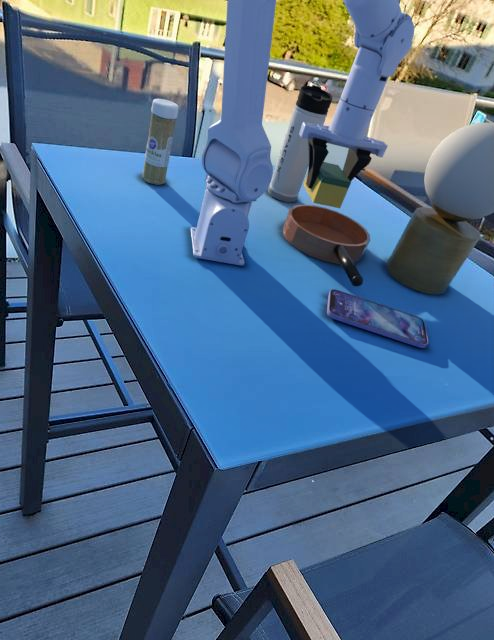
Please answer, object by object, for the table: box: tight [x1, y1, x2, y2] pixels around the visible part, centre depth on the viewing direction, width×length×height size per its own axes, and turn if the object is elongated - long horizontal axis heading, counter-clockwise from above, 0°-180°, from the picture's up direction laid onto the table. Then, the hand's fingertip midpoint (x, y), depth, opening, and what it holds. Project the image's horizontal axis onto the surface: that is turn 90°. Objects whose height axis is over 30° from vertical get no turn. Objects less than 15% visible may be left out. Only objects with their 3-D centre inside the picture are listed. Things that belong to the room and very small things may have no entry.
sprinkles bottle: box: [141, 98, 180, 186], centre depth 87 cm, size 5×5×14 cm
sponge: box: [302, 161, 352, 209], centre depth 84 cm, size 8×5×4 cm, turn 5°
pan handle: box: [334, 244, 364, 288], centre depth 78 cm, size 12×2×2 cm, turn 5°
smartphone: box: [326, 288, 429, 349], centre depth 72 cm, size 7×1×15 cm
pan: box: [282, 204, 371, 265], centre depth 88 cm, size 15×15×4 cm
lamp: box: [385, 122, 494, 296], centre depth 81 cm, size 15×14×25 cm
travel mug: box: [267, 84, 333, 203], centre depth 95 cm, size 6×7×20 cm
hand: (323, 189), depth 85 cm, fingers closed on sponge, 5 cm apart
